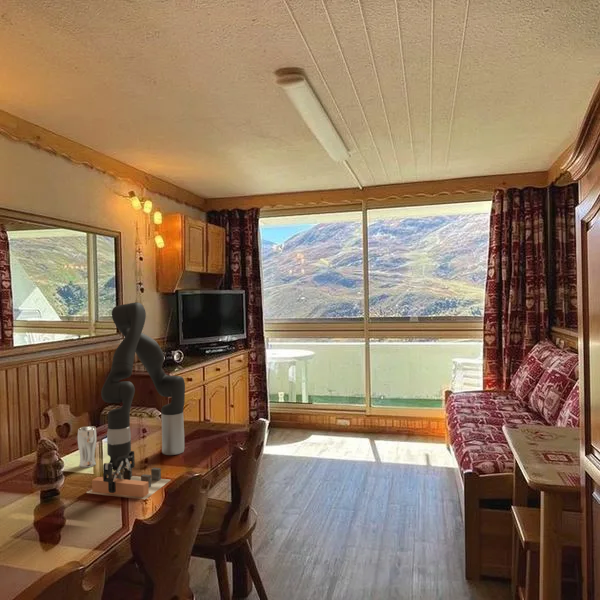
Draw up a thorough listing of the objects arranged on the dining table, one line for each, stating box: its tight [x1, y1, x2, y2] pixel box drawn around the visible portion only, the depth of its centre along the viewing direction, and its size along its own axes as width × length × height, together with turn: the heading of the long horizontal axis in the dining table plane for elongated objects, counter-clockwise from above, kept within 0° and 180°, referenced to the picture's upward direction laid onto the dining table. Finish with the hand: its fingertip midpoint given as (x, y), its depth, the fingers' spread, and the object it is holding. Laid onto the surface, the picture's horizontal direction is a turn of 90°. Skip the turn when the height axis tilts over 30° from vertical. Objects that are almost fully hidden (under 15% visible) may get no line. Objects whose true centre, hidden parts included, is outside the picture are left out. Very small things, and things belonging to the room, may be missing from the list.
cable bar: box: [91, 476, 149, 497], centre depth 161 cm, size 3×20×4 cm, turn 76°
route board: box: [86, 467, 171, 500], centre depth 167 cm, size 17×23×5 cm
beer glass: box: [77, 425, 97, 469], centre depth 191 cm, size 7×7×15 cm
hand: (119, 487), depth 161 cm, fingers open, 8 cm apart
